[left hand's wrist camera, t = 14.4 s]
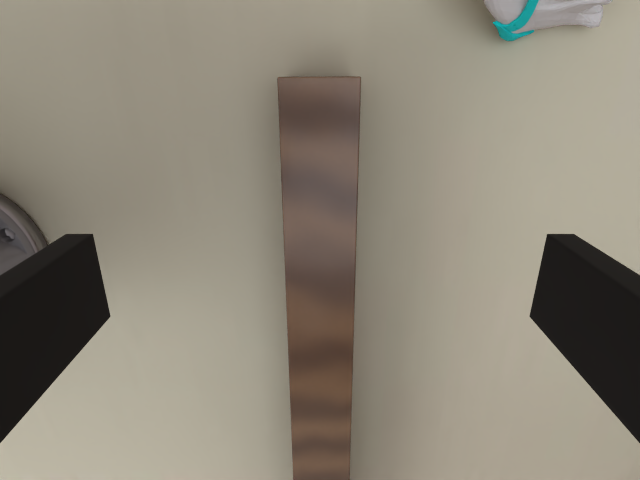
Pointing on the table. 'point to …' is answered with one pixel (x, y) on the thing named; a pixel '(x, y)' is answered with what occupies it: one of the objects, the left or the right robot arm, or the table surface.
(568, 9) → the anatomical model
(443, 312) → the table surface
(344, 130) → the post
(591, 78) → the table surface
